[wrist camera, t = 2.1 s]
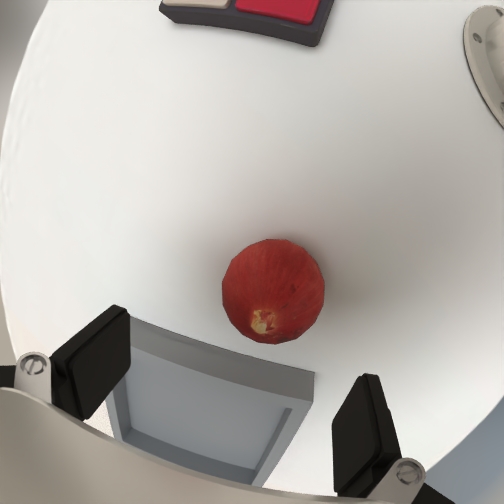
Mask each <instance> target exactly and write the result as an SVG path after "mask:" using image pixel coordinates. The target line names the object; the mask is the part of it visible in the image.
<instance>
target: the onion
mask: <svg viewBox="0 0 504 504" xmlns="http://www.w3.org/2000/svg"><path fill="white" fill-rule="evenodd" d="M222 298H223V307H224V309H225V311H226V313H227V316H228V318H229V320H230V322H231V323H232V324H233V325H234V326H235V327H236V329H237V330H238V331H239V332H240V333H241V334H242V335H244V336H246V337H248V338H250V339H252V340H254V341H256V342H258V343H267V344H280V343H283V342H287V341H291V340H294V339H297V338H298V337H299V336H301V335H302V334H303V333H304V332H305V331H306V330H308V329H309V328H310V327H311V326H312V325H313V324H314V323H315V321H316V319H317V317H318V315H319V313H320V311H321V309H322V307H323V303H324V279H323V277H322V274H321V272H320V269H319V267H318V264H317V263H316V261H315V260H314V259H313V258H312V257H311V256H310V255H309V253H308V252H307V251H306V250H305V249H304V248H302V247H300V246H298V245H296V244H294V243H292V242H290V241H288V240H279V239H266V240H263V241H260V242H258V243H255V244H252V245H250V246H248V247H246V248H245V249H244V250H243V251H242V252H240V253H239V254H238V255H237V256H236V257H235V258H233V259H232V261H231V263H230V265H229V267H228V270H227V272H226V274H225V276H224V279H223V281H222Z"/></svg>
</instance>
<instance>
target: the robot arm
mask: <svg viewBox="0 0 504 504" xmlns="http://www.w3.org/2000/svg"><path fill="white" fill-rule="evenodd" d="M464 44H465V51H466V55H467V59H468V62H469V66H470V69H471V71H472V74H473V76H474V79H475V82H476V84H477V86H478V88H479V90H480V92H481V94H482V96H483V98H484V99H485V101H486V103H487V104H488V106H489V108H490V110H491V111H492V113H493V114H494V115H495V117H496V118H497V119H498V121H499V122H500V124H501V125H502V126H503V127H504V9H503V8H500V7H497V6H482V7H479V8H477V9H476V10H475V11H474V12H473V13H471V14H470V16H469V17H468V19H467V20H466V24H465V28H464ZM130 366H131V343H130V314H129V313H128V312H127V309H125V308H123V307H120V306H117V305H112V306H111V307H109V308H108V309H107V310H106V311H104V312H103V313H102V314H100V315H99V316H98V317H97V318H95V319H94V320H93V321H92V322H90V323H89V324H88V325H87V326H85V327H84V328H83V329H82V330H81V331H79V332H78V333H77V334H76V335H74V336H73V337H72V338H71V339H69V340H68V341H67V342H66V343H65V344H63V345H62V346H61V347H60V348H59V349H57V350H56V351H55V352H54V353H53V354H52V356H50V357H49V358H48V357H47V356H46V355H44V354H42V353H40V352H29V353H26V354H24V355H22V356H21V357H20V358H19V359H18V361H17V365H16V366H15V365H13V366H0V504H455V503H454V502H453V501H451V500H449V499H448V498H446V497H445V496H443V495H442V494H440V493H439V492H437V491H436V490H435V489H433V488H432V487H430V486H429V485H427V484H426V483H424V481H425V478H426V472H425V469H424V467H423V466H422V465H421V463H419V462H418V461H417V460H414V459H412V458H402V455H401V451H400V447H399V443H398V439H397V435H396V431H395V427H394V423H393V419H392V416H391V412H390V410H389V409H388V407H387V403H386V399H385V396H384V392H383V389H382V386H381V382H380V379H379V376H378V375H373V374H367V373H364V374H363V375H362V376H359V377H358V378H357V379H356V381H355V383H354V385H353V387H352V388H351V390H350V392H349V394H348V395H347V397H346V399H345V401H344V402H343V404H342V406H341V407H340V409H339V411H338V412H337V414H336V416H335V417H334V419H333V422H332V446H333V478H334V492H337V497H334V496H321V495H311V494H302V493H294V492H286V491H280V490H273V489H268V488H262V487H257V486H252V485H247V484H243V483H238V482H234V481H230V480H226V479H222V478H218V477H215V476H211V475H208V474H204V473H201V472H198V471H194V470H191V469H188V468H185V467H182V466H179V465H176V464H174V463H171V462H168V461H165V460H163V459H160V458H158V457H155V456H153V455H150V454H148V453H145V452H143V451H141V450H138V449H136V448H134V447H131V446H129V445H127V444H125V443H123V442H121V441H119V440H116V439H114V438H112V437H110V436H108V435H106V434H104V433H103V432H101V431H99V430H97V429H95V428H93V427H91V426H89V425H87V424H86V423H84V422H83V421H84V420H85V419H86V420H88V419H89V418H90V417H91V416H92V415H93V414H94V412H95V411H96V410H97V409H98V407H99V406H100V405H101V404H102V402H103V401H104V400H105V399H106V397H107V396H108V395H109V394H110V392H111V391H112V390H113V389H114V387H115V386H116V385H117V384H118V383H119V381H120V380H121V379H122V378H123V376H124V375H125V374H126V373H127V371H128V370H129V368H130Z"/></svg>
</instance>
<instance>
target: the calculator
mask: <svg viewBox="0 0 504 504" xmlns="http://www.w3.org/2000/svg"><path fill="white" fill-rule="evenodd" d="M333 2H334V0H162V1H161V4H160V6H159V11H160V12H161V13H163V14H164V15H165V16H167V17H168V18H169V19H171V20H172V21H173V22H175V23H181V24H194V25H205V26H213V27H221V28H228V29H235V30H241V31H246V32H252V33H257V34H262V35H267V36H271V37H275V38H280V39H284V40H288V41H292V42H295V43H299V44H302V45H306V46H310V47H315V46H317V45H318V43H319V41H320V38H321V35H322V33H323V30H324V27H325V24H326V21H327V19H328V16H329V13H330V10H331V8H332V5H333Z"/></svg>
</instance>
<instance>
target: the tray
mask: <svg viewBox="0 0 504 504" xmlns="http://www.w3.org/2000/svg"><path fill="white" fill-rule="evenodd" d="M130 343H131V366H130V368H129V370H128V371H127V373H126V374H125V375H124V376H123V378H122V379H121V380H120V381H119V383H118V384H117V385H116V386H115V387H114V389H113V390H112V391H111V392H110V394H109V395H108V396H107V397H106V399H105V401H106V405H107V410H108V414H109V419H110V423H111V427H112V431H113V434H114V438H115V439H116V440H119V441H121V442H123V443H125V444H127V445H129V446H131V447H134V448H136V449H138V450H141V451H143V452H145V453H148V454H150V455H153V456H155V457H158V458H160V459H163V460H165V461H168V462H171V463H174V464H176V465H179V466H182V467H185V468H188V469H191V470H194V471H198V472H201V473H204V474H208V475H211V476H215V477H218V478H222V479H226V480H230V481H234V482H238V483H243V484H247V485H252V486H257V487H262V486H263V485H264V483H265V482H266V480H267V479H268V477H269V476H270V474H271V473H272V471H273V470H274V468H275V467H276V465H277V464H278V462H279V460H280V459H281V457H282V456H283V454H284V452H285V451H286V449H287V447H288V446H289V444H290V443H291V441H292V439H293V437H294V436H295V434H296V432H297V431H298V429H299V427H300V425H301V424H302V422H303V420H304V418H305V416H306V415H307V413H308V411H309V409H310V407H311V405H312V404H313V397H314V372H310V371H306V370H301V369H297V368H293V367H288V366H284V365H280V364H276V363H272V362H268V361H264V360H261V359H257V358H253V357H250V356H246V355H243V354H239V353H236V352H232V351H229V350H225V349H222V348H219V347H216V346H212V345H209V344H206V343H203V342H200V341H197V340H194V339H191V338H188V337H185V336H182V335H179V334H176V333H173V332H171V331H168V330H165V329H162V328H160V327H157V326H154V325H152V324H149V323H146V322H144V321H141V320H139V319H136V318H133V317H131V316H130Z"/></svg>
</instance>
